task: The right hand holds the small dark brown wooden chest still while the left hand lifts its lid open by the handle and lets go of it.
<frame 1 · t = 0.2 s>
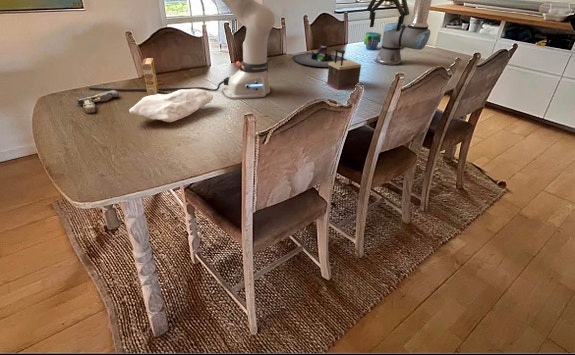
right hand: (384, 29, 175), 28 cm above the table, tool pointing down, fingers open, 13 cm apart
crumpled cloth: (172, 113, 149), on the table
handgun: (101, 103, 156), on the table
lid: (345, 57, 181), point 14 cm above the table, hinge at 0.0°
snack cup: (371, 48, 259), on the table
dark round tray: (319, 60, 227), on the table
chest: (342, 84, 189), on the table
candy box: (153, 94, 167), on the table
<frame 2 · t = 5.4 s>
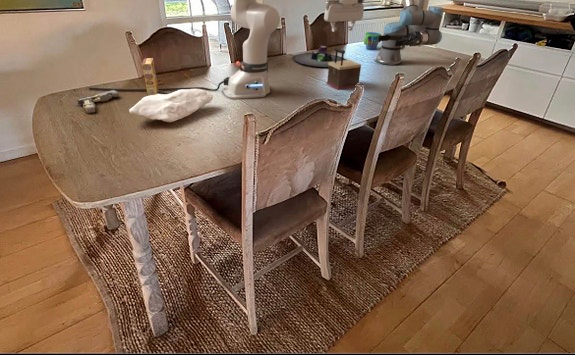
left hand: (342, 30, 173), 27 cm above the table, tool pointing down, fingers open, 8 cm apart
right hand: (386, 40, 190), 20 cm above the table, tool horizontal, fingers open, 13 cm apart
nothing on the table moved.
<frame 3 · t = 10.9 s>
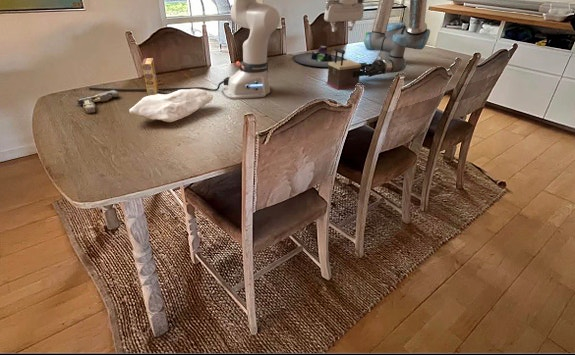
left hand: (342, 30, 173), 27 cm above the table, tool pointing down, fingers open, 8 cm apart
right hand: (347, 71, 186), 7 cm above the table, tool horizontal, fingers closed on chest, 10 cm apart
chest: (342, 84, 189), on the table, touching right hand
everything else where it was.
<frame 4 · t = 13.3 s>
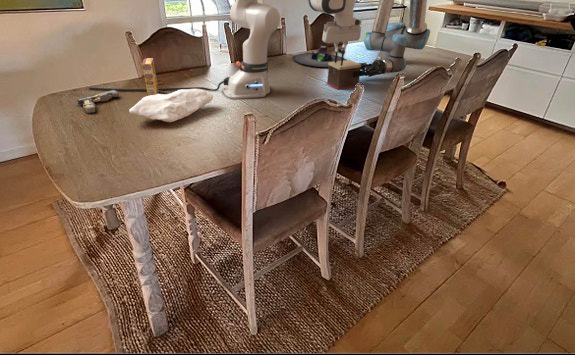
left hand: (339, 51, 178), 17 cm above the table, tool pointing down, fingers closed on lid, 2 cm apart
right hand: (347, 71, 186), 7 cm above the table, tool horizontal, fingers closed on chest, 10 cm apart
lid: (345, 57, 181), point 14 cm above the table, hinge at 0.0°, touching left hand
chest: (342, 84, 189), on the table, touching right hand
everything else where it was.
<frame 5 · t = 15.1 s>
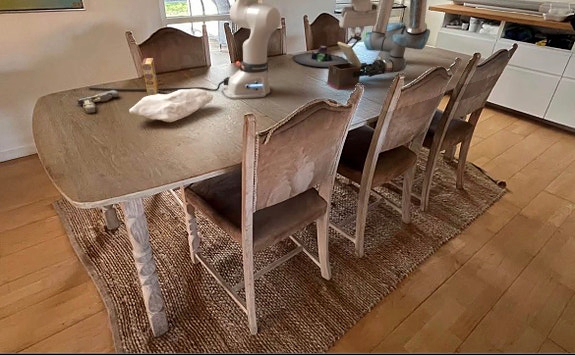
left hand: (356, 36, 178), 24 cm above the table, tool pointing down, fingers closed on lid
right hand: (348, 71, 186), 7 cm above the table, tool horizontal, fingers closed on chest, 10 cm apart
lid: (354, 48, 181), point 18 cm above the table, hinge at 48.3°, touching left hand
chest: (342, 84, 189), on the table, touching right hand
everything else where it was.
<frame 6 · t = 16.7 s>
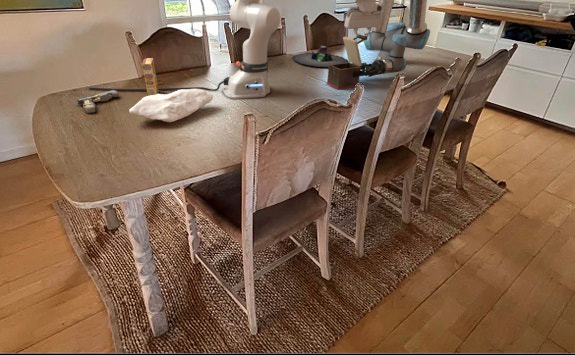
left hand: (361, 37, 180), 23 cm above the table, tool pointing down, fingers open, 5 cm apart
right hand: (347, 71, 186), 7 cm above the table, tool horizontal, fingers closed on chest, 10 cm apart
lid: (358, 47, 182), point 18 cm above the table, hinge at 65.5°
chest: (342, 84, 189), on the table, touching right hand
everything else where it was.
when the right hand's fingers open (7 cm above the table, at t = 20.1 s): chest stays where it is, on the table.
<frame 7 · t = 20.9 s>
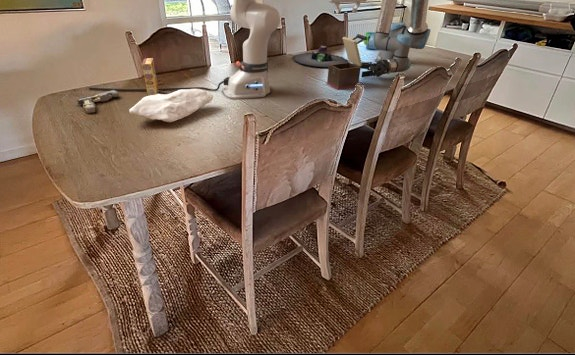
left hand: (346, 13, 169), 35 cm above the table, tool pointing down, fingers open, 8 cm apart
right hand: (354, 70, 188), 7 cm above the table, tool horizontal, fingers open, 13 cm apart
lid: (358, 47, 182), point 18 cm above the table, hinge at 64.9°
chest: (342, 84, 189), on the table
everything else where it was.
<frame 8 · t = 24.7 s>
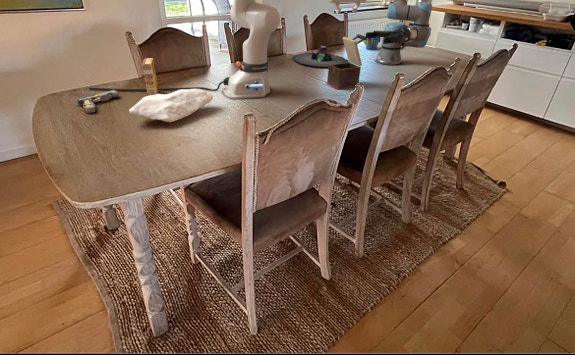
left hand: (346, 13, 169), 35 cm above the table, tool pointing down, fingers open, 8 cm apart
right hand: (374, 38, 184), 22 cm above the table, tool horizontal, fingers open, 13 cm apart
nothing on the table moved.
at the end: lid at +65° (first picture: +0°); the left hand is holding nothing; the right hand is holding nothing; chest tilted 0°; chest never tilted more than 1° during the clip; chest moved 0.1 cm from its start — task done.
